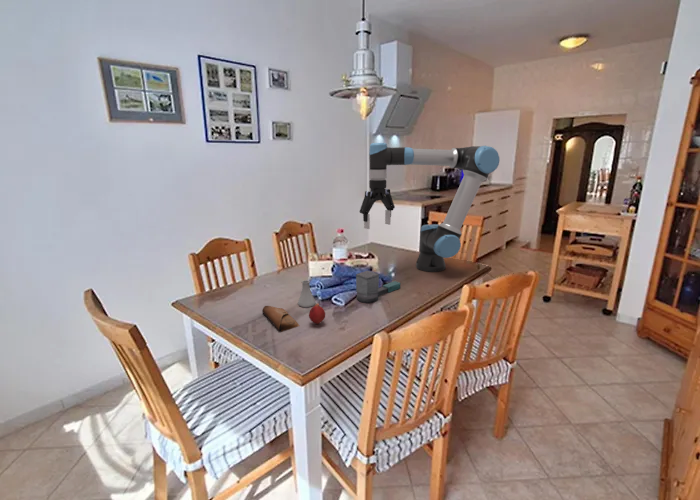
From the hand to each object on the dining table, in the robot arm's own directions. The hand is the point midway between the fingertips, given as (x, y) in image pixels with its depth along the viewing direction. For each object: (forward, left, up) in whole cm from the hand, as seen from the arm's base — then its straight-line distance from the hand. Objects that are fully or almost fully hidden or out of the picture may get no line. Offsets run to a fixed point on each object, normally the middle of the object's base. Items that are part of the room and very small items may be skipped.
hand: (377, 226), depth 164 cm
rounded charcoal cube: (+18, +12, -24) cm, 32 cm away
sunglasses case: (+55, +4, -27) cm, 62 cm away
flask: (+40, -1, -27) cm, 48 cm away
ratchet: (+11, +12, -27) cm, 31 cm away
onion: (+47, +16, -27) cm, 56 cm away
